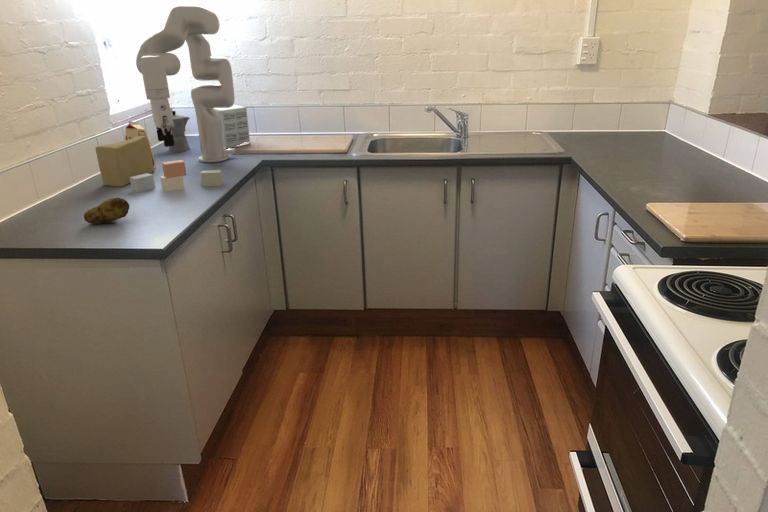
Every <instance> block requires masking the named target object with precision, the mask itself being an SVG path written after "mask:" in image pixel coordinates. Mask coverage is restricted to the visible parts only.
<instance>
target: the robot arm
mask: <svg viewBox="0 0 768 512" xmlns="http://www.w3.org/2000/svg"><path fill="white" fill-rule="evenodd" d="M219 30H220V19H219V16H218V15H217V13H215V11H213V10H211V9H209V8H206V7H204V6H202V5H176V6H173V7H171V8H170V9H169V10H168V13H167V15H166V17H165V20H164V23H163V26H162V27H161V30H159V31H158V32H156V33H154V34H153V35H151V36H150V37H149V38H147V39H146V40H144V41H143V43H142V44H141V45H140V47H139V50H138V52H137V55H136V59H135V65H136V68H137V71H138V72H139V73H140V74H141V75H142V80H143V86H144V91H145V97H146V100H148V101H149V100H150V108H151V114H152V118H153V123H154V125H155V128H156V134H157V140H158V141H159V142H163V144H164V147H165V148H169V146H174V140H173V134H172V131H171V127H172V128H173V127H174V123H173V118H172V115H173V114H172V109H171V105H170V102H169V99H171V96H170V91H169V90H170V89H169V83H168V76H175V75H177V74H178V73H179V72H180V70H181V60H180V58H179V57H178V56H177V55H176V54H174V53H172V51H175V50H177V49H179V48H182V47H183V46H184V44H185V42H186V44H187V47H188V54H189V61H190V67H191V73H192V77H193V78H194V80H197V81H199V82H219V84H218V83H217V84H215V83H214V84H213V83H207V84H206V83H202V84H197V85H194V86H193V87H192V89H191V90H190V98H191V101H192V104H193V107H194V110H195V111H194V112H195V115H196V116H195V117H196V122H197V130H198V138H199V145H200V146H199V147H200V152H201V155H200V156H198V161H199V162H201V163H217V162H218V163H220V162H224V161H227V160H228V159H229V154H235V153H236V148H228V149H226V148H224V147H223V139H222V131H221V122H220V117H219V115H218V114H217V112H216V111H215V110H214V109H213V108H229V107H232V106H233V104H234V105H235V99H236V98H235V89H234V79H233V71H232V66H231V63H230V60H228V58H227V57H224V56H213V55H212V52H211V51H212V50H211V45H210V42H209V40H208V39H207V37H206V36H205V35H216V34H217V33H218V32H219ZM170 126H171V127H170Z"/></svg>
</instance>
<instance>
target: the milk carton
mask: <svg viewBox="0 0 768 512" xmlns="http://www.w3.org/2000/svg"><path fill="white" fill-rule="evenodd" d="M137 136H146V137H147V141H148V145H149V148H150V152H151V157H152V162H153V169H154V170H155V169H156V168H157V164H156V161H155V156H154V154H153V150H152V145H151V142H150V140H149V137H148V134H147V132H146V129H145V128H144V127H142V125H140V122H139V121H137V122H135V121H134V122H133V121H130V120H128V125H126V127H125V139H124V141H125V140H128V139H131V138H134V137H137Z"/></svg>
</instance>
